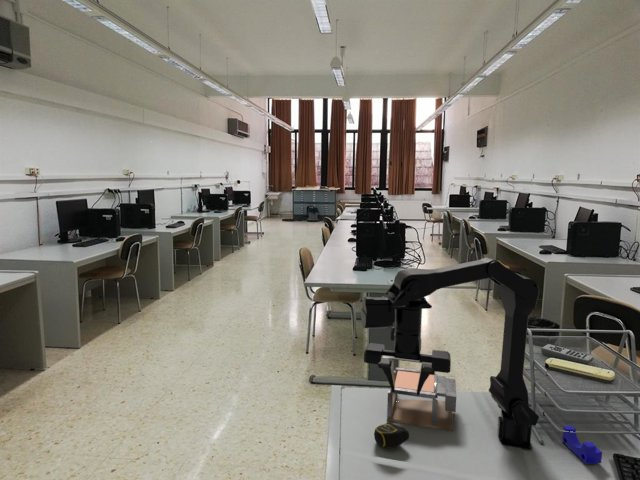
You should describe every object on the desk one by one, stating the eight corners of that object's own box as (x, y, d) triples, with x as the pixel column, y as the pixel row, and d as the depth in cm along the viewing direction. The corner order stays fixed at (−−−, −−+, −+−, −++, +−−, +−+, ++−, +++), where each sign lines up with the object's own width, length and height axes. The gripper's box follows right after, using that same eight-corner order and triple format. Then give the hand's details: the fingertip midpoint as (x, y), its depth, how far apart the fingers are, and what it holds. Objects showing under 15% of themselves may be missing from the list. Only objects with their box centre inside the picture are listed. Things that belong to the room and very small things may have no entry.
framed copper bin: (451, 403, 117) (453, 374, 116) (452, 431, 104) (454, 398, 103) (393, 395, 122) (393, 366, 121) (386, 420, 109) (387, 388, 108)
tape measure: (412, 443, 97) (409, 427, 97) (388, 454, 94) (385, 437, 94) (393, 434, 103) (390, 419, 103) (370, 444, 100) (367, 428, 100)
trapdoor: (454, 393, 115) (455, 377, 114) (455, 412, 106) (456, 394, 105) (397, 385, 119) (397, 369, 119) (393, 403, 110) (393, 386, 109)
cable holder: (601, 463, 93) (602, 445, 93) (585, 463, 93) (587, 446, 92) (575, 441, 101) (577, 425, 101) (562, 441, 101) (563, 425, 100)
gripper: (451, 319, 101) (447, 382, 103) (372, 312, 106) (370, 372, 108) (452, 335, 90) (448, 405, 92) (364, 327, 95) (362, 393, 97)
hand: (405, 393), depth 97 cm, fingers open, 5 cm apart
